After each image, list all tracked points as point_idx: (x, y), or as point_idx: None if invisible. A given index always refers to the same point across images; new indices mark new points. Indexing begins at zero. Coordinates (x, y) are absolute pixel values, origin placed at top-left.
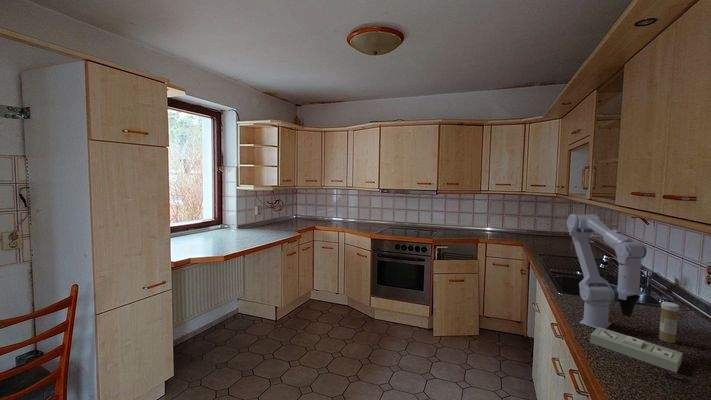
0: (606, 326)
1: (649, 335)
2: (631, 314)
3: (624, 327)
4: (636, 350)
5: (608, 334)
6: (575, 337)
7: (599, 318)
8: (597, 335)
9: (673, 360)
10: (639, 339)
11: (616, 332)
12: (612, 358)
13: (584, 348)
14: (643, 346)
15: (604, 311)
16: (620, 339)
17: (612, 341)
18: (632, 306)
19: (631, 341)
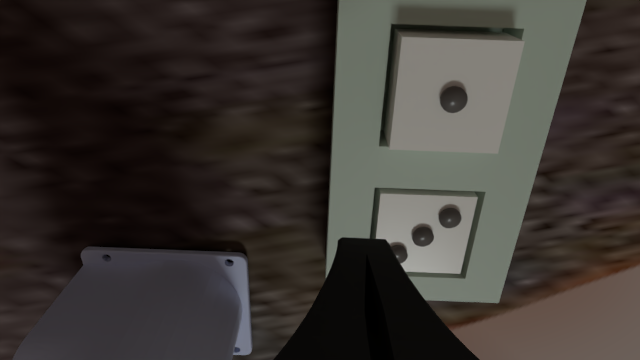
0: (174, 256)
1: (27, 39)
2: (350, 245)
3: (55, 182)
4: (567, 54)
5: (425, 236)
6: (463, 321)
7: (213, 325)
8: (486, 274)
9: None
10: (405, 71)
11: (332, 208)
12: (627, 143)
13: (582, 266)
14: (415, 30)
15: (167, 353)
16: (447, 168)
17: (525, 197)
18: (460, 341)
19: (495, 108)
